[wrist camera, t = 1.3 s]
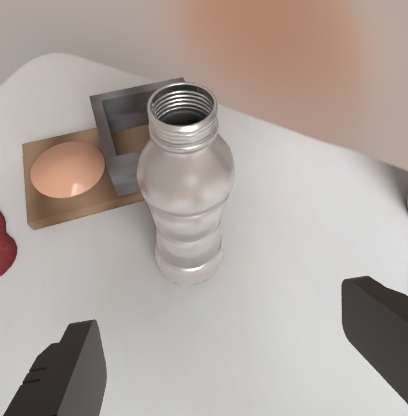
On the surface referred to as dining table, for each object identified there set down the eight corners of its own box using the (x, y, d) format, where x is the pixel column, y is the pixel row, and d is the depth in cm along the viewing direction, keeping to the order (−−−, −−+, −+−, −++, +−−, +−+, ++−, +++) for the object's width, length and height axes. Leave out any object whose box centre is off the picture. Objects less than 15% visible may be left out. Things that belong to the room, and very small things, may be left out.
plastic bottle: (145, 259, 33) (91, 101, 17) (194, 222, 36) (190, 52, 19) (185, 305, 31) (170, 174, 14) (234, 262, 33) (271, 106, 17)
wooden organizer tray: (184, 117, 45) (182, 76, 40) (213, 181, 39) (216, 142, 34) (27, 152, 41) (1, 112, 36) (33, 230, 35) (3, 195, 30)
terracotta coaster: (99, 137, 41) (98, 134, 40) (111, 187, 37) (110, 185, 36) (29, 153, 39) (28, 150, 39) (34, 207, 35) (32, 205, 35)
